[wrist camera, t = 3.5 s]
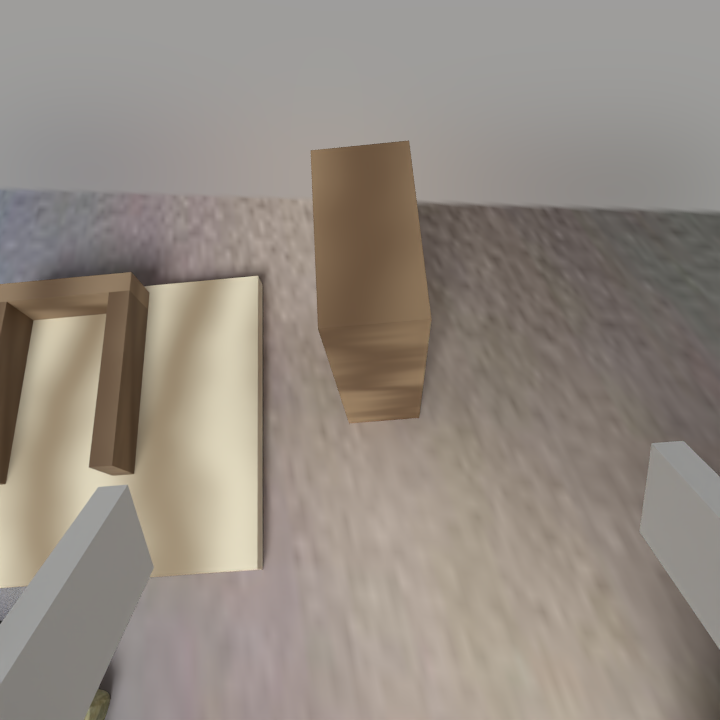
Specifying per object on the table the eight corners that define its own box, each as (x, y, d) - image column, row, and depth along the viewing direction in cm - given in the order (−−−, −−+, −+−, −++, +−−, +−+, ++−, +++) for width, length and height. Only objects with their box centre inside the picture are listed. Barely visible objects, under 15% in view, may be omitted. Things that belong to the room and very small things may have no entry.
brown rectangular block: (405, 293, 34) (409, 140, 22) (418, 417, 31) (431, 318, 19) (341, 299, 34) (310, 150, 22) (349, 423, 32) (318, 329, 19)
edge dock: (262, 285, 35) (247, 253, 32) (262, 569, 29) (244, 568, 25) (-71, 315, 36) (-120, 288, 33) (-141, 598, 30) (-211, 601, 26)
